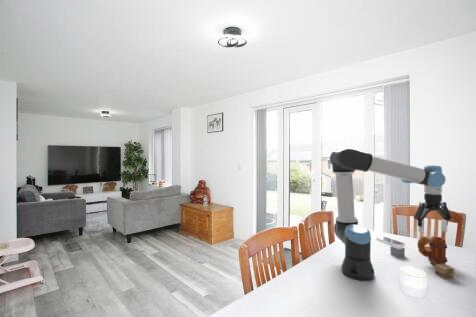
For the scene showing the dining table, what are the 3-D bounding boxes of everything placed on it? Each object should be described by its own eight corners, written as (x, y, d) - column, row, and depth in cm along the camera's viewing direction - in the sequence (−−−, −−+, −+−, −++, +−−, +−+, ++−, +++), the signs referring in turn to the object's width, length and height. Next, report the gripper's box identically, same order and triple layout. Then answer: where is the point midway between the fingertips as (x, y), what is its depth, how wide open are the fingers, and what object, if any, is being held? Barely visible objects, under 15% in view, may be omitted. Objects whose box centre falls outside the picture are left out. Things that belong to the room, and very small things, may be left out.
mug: (441, 260, 135) (441, 234, 135) (452, 267, 127) (452, 239, 126) (413, 259, 136) (413, 233, 136) (423, 266, 128) (423, 238, 128)
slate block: (398, 257, 140) (398, 249, 139) (390, 254, 144) (390, 246, 144) (404, 256, 141) (404, 247, 141) (396, 252, 146) (396, 244, 146)
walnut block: (444, 279, 116) (444, 269, 115) (435, 274, 120) (435, 264, 120) (453, 278, 116) (454, 268, 116) (444, 273, 121) (444, 263, 121)
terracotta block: (424, 254, 143) (424, 246, 143) (418, 251, 148) (418, 243, 148) (432, 254, 142) (432, 246, 142) (427, 251, 147) (427, 243, 147)
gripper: (417, 195, 126) (417, 234, 126) (460, 194, 128) (460, 233, 128) (406, 193, 133) (406, 230, 134) (447, 191, 135) (447, 228, 136)
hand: (432, 231), depth 131 cm, fingers open, 13 cm apart
